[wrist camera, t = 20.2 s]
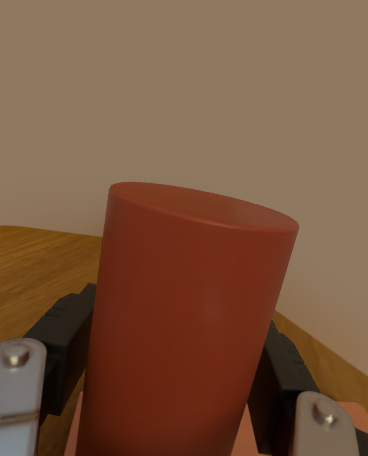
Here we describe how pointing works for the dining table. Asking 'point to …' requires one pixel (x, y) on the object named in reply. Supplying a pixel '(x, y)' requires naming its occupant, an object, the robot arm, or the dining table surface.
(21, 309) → the dining table surface
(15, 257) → the dining table surface
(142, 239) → the rust pin
